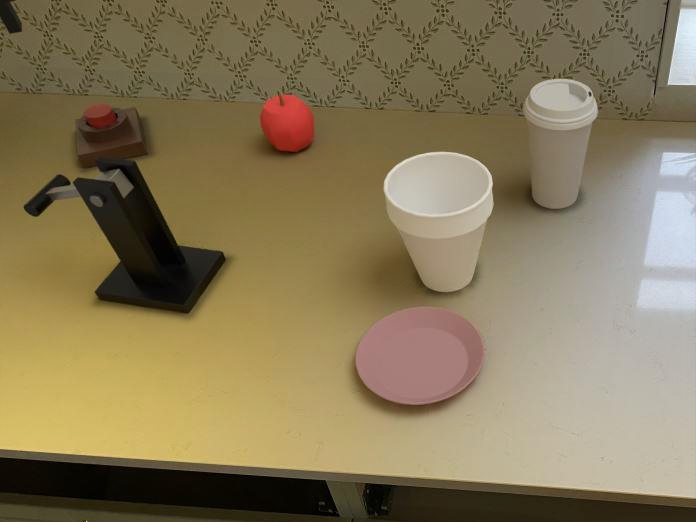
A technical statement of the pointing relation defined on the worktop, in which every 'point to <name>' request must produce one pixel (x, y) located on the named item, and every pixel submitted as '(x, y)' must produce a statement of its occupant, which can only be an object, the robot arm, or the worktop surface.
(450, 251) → the cup
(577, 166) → the coffee cup
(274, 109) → the apple
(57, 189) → the lever
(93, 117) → the button
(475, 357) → the plate
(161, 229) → the bracket
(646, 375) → the worktop surface
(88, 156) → the button block
